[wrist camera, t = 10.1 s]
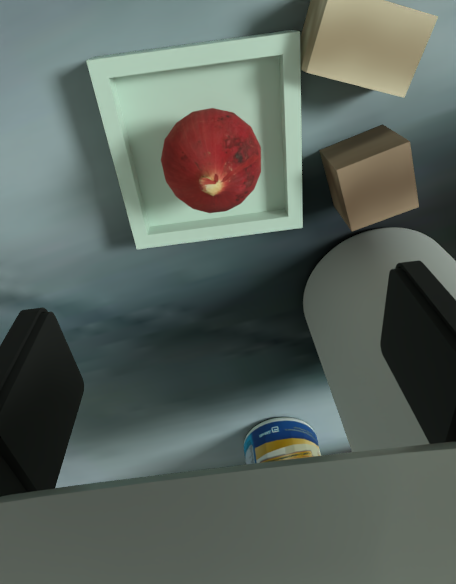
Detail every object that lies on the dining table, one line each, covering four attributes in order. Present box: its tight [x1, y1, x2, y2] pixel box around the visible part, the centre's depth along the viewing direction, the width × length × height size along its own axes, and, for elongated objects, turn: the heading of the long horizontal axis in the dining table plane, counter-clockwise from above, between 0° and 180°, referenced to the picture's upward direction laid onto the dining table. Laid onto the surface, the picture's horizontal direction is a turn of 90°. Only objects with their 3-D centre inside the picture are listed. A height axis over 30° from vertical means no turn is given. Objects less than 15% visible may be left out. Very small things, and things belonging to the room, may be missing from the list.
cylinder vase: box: [303, 227, 456, 452], centre depth 26 cm, size 12×12×25 cm
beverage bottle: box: [244, 417, 321, 464], centre depth 39 cm, size 8×8×20 cm
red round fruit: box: [161, 108, 261, 213], centre depth 24 cm, size 6×6×8 cm
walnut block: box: [319, 125, 419, 231], centre depth 28 cm, size 4×4×4 cm
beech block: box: [300, 0, 438, 98], centre depth 24 cm, size 4×6×4 cm, turn 77°
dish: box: [86, 30, 303, 249], centre depth 28 cm, size 12×12×2 cm
